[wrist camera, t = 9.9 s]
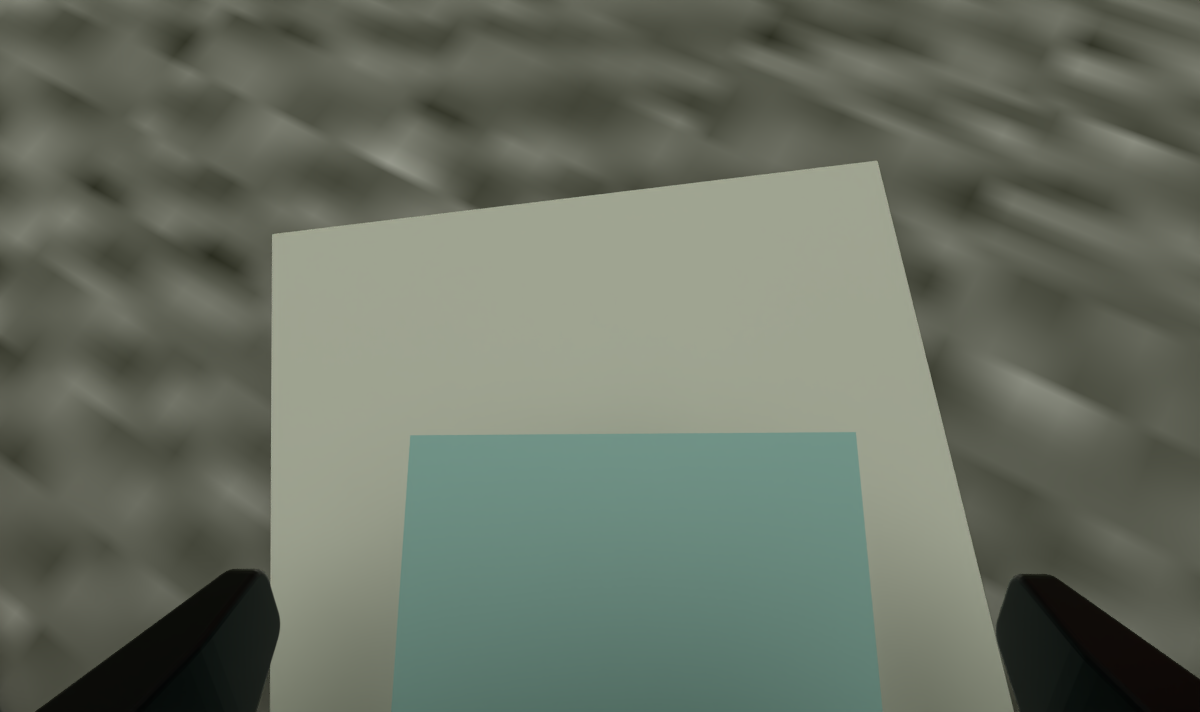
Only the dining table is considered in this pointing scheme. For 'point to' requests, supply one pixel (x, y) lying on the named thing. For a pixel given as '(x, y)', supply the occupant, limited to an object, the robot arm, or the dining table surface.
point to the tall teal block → (635, 575)
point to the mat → (608, 394)
